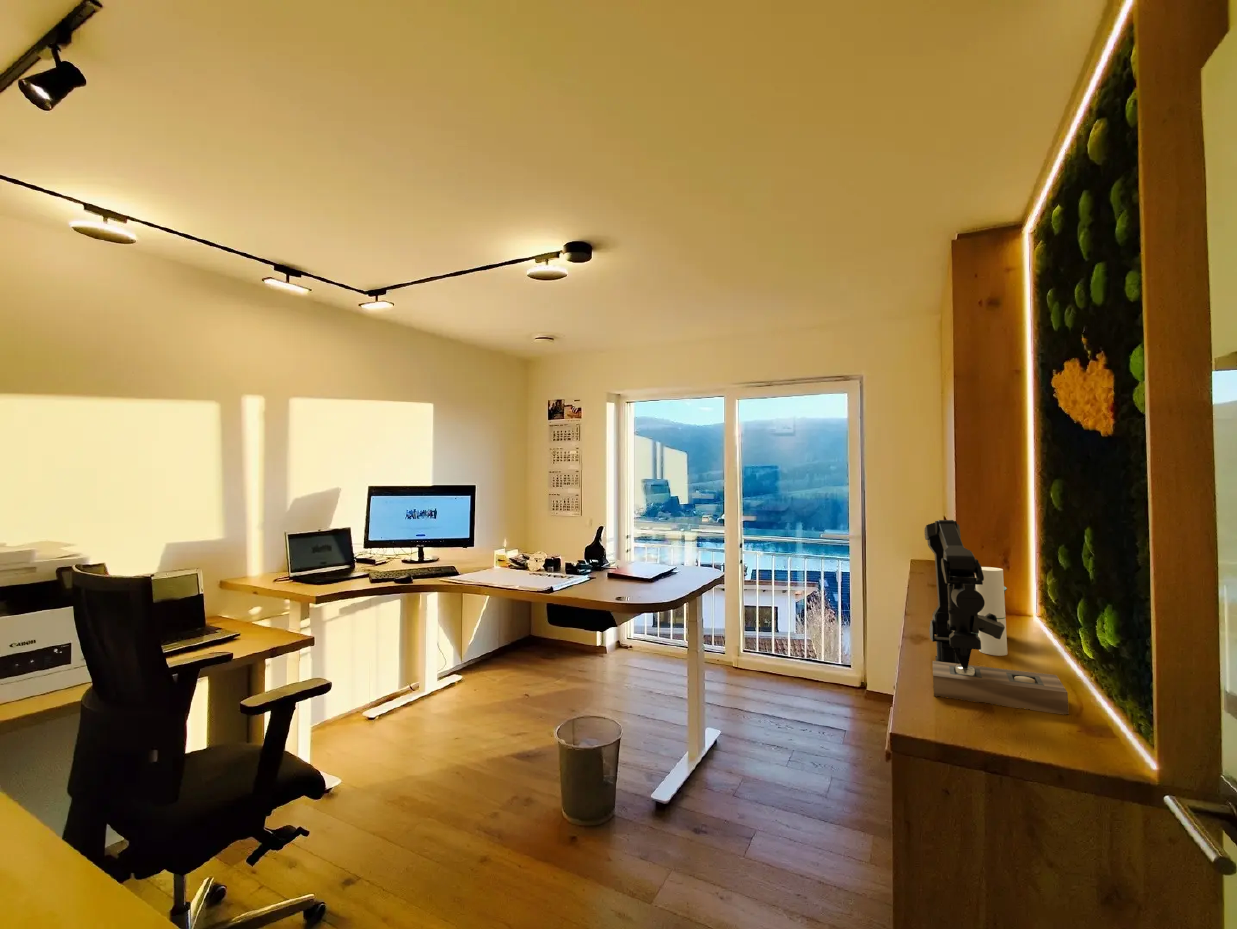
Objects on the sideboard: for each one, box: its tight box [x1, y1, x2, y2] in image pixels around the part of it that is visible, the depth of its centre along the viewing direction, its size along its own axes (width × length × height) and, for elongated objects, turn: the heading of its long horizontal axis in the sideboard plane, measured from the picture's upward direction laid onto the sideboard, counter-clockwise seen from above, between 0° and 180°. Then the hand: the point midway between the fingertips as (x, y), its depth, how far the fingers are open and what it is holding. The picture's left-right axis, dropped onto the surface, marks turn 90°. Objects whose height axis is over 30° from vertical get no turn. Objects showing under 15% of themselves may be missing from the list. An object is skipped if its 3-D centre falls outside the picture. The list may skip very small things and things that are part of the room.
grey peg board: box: [932, 660, 1070, 715], centre depth 134 cm, size 12×26×5 cm, turn 61°
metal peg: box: [956, 665, 975, 676], centre depth 136 cm, size 4×4×5 cm
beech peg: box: [1014, 676, 1035, 683], centre depth 131 cm, size 4×4×5 cm
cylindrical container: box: [974, 566, 1008, 657], centre depth 166 cm, size 7×7×25 cm
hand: (964, 667), depth 137 cm, fingers closed, pressing on metal peg
